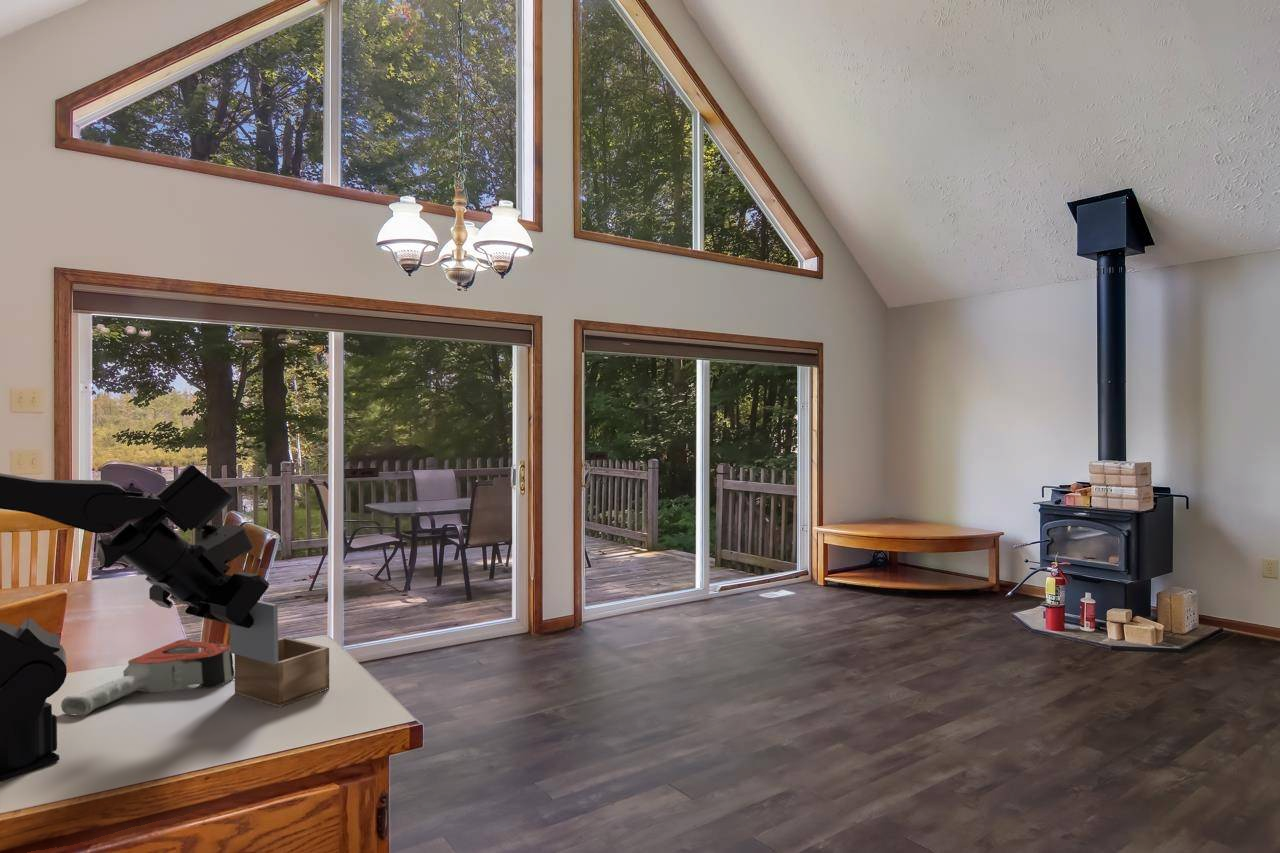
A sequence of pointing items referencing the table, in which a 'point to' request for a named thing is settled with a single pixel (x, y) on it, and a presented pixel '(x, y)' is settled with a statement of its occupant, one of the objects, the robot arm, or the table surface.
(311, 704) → the table surface
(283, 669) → the box
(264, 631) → the lid
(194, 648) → the tape dispenser
